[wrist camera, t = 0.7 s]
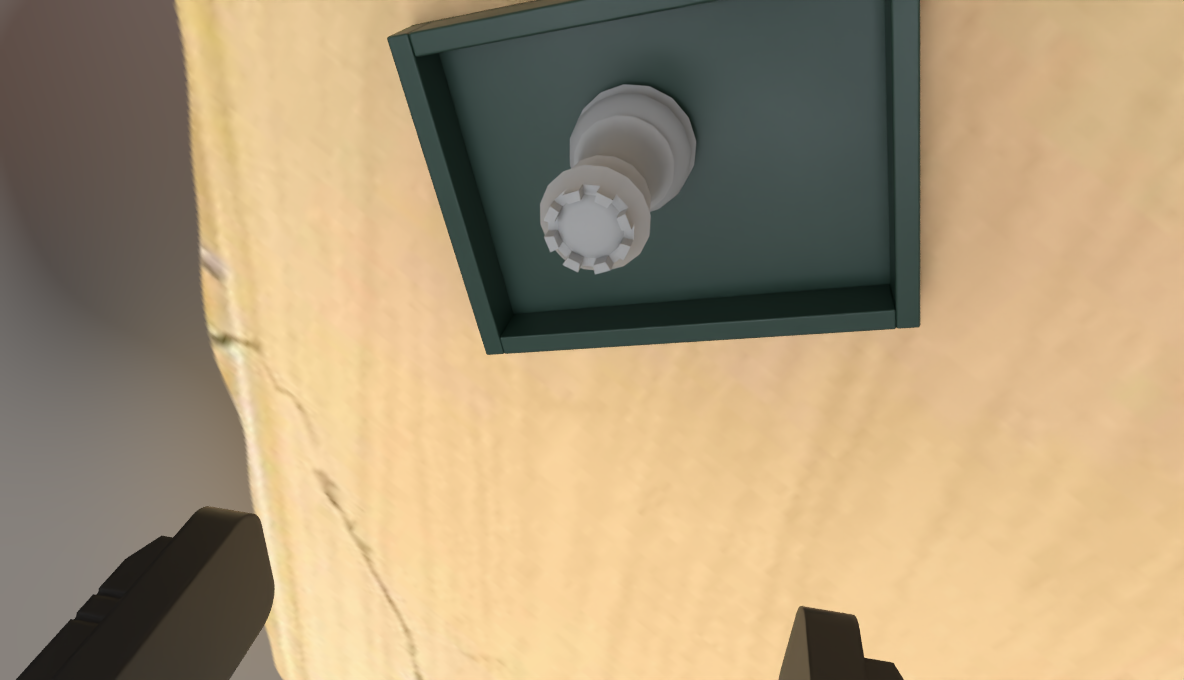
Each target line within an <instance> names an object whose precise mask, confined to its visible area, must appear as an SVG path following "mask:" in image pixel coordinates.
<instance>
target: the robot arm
mask: <svg viewBox="0 0 1184 680" xmlns="http://www.w3.org/2000/svg"><path fill="white" fill-rule="evenodd" d="M273 599H274V579H273V575H272V570H271V566H270V561H269V556H268V552H267V547H266V543H265V538H264V533H263V529H262V524H261V521H260V519H259V517H258V516H257V515H255V514H252V513H246V512H239V511H234V510H228V509H222V508H215V507H209V506H206V507H203V508H201V509H199V510H198V511H197V512H195V513H194V514H193V515H192V517H191V518H190V519H189V520H188V521H187V522H186V523H185V525H184V526H183V527H182V528H181V529H180V530H179V532H178V533H177V534H176V535H175V536H174V537H173V538H172V537H166V536H161V537H159V538H157V539H156V540H154V541H153V542H151V543H149V544H148V545H146V546H145V547H143V548H142V549H140V550H139V551H137V552H136V553H134V554H132V555H131V556H129V557H128V558H127V559H125V560H124V561H123V562H122V563H121V564H120V566H119V567H118V568H117V569H116V570H115V571H114V572H113V573H112V574H111V576H110V577H109V578H108V579H107V580H106V581H105V582H104V583H103V584H102V585H101V586H100V588H99V592H98V593H97V595H92V596H91V597H90V599H89V600H88V601H87V602H86V603H85V604H84V605H83V606H82V607H81V608H80V610H79V611H78V612H77V615H76V618H75V619H74V620H72V619H70V621H69V622H68V623H67V624H66V625H65V626H64V627H63V628H62V629H61V630H60V632H59V633H58V634H57V635H56V636H55V637H54V638H53V639H52V640H51V642H50V643H49V644H48V645H47V646H46V647H45V648H44V649H43V650H42V652H41V653H40V654H39V655H38V656H37V657H36V658H35V659H34V660H33V661H32V662H31V663H30V665H29V666H28V667H27V668H26V669H25V670H24V671H23V672H22V674H20V676H19V677H18V678H17V679H16V680H229V679H230V678H231V676H232V674H233V673H234V671H235V670H236V668H237V667H238V665H239V664H240V662H241V661H242V659H243V657H244V656H245V654H246V653H247V651H248V650H249V648H250V646H251V645H252V643H253V642H254V640H255V639H256V637H257V635H258V634H259V632H260V631H261V629H262V628H263V626H264V624H265V623H266V620H267V618H268V616H269V613H270V611H271V607H272V604H273ZM779 680H904V679H903V678H902V676H901V674H900V673H899V671H898V670H897V668H896V667H895V665H894V663H891V662H886V661H880V660H874V659H868V658H864V654H863V648H862V642H861V635H860V629H859V624H858V621H857V618H856V617H855V615H852V614H846V613H840V612H834V611H828V610H822V609H815V608H809V607H803V606H800V607H799V608H798V611H797V613H796V617H795V620H794V624H793V628H792V631H791V635H790V638H789V642H788V646H787V649H786V653H785V656H784V660H783V664H782V667H781V671H780V675H779Z"/></svg>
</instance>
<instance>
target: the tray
mask: <svg viewBox="0 0 1184 680" xmlns="http://www.w3.org/2000/svg"><path fill="white" fill-rule="evenodd" d="M387 40H388V43H389V46H390V49H391V52H392V55H393V59H394V62H395V65H396V68H397V71H398V74H399V78H400V81H401V84H402V87H403V90H404V93H405V97H406V100H407V103H408V106H409V109H410V112H411V116H412V119H413V122H414V125H415V128H416V132H417V135H418V138H419V141H420V144H421V147H422V151H423V154H424V157H425V160H426V163H427V166H428V170H429V173H430V176H431V179H432V182H433V185H434V189H435V192H436V195H437V198H438V201H439V205H440V208H441V211H442V214H443V217H444V220H445V224H446V227H447V230H448V233H449V236H450V239H451V243H452V246H453V249H454V252H455V255H456V258H457V262H458V265H459V268H460V271H461V274H462V278H463V281H464V284H465V287H466V290H467V293H468V297H469V300H470V303H471V306H472V309H473V312H474V316H475V319H476V322H477V325H478V328H479V331H480V335H481V338H482V341H483V344H484V347H485V350H486V354H487V355H492V354H503V353H505V354H508V353H524V352H540V351H555V350H571V349H587V348H602V347H618V346H634V345H650V344H665V343H681V342H697V341H712V340H728V339H744V338H760V337H775V336H791V335H807V334H823V333H838V332H854V331H870V330H885V329H895V328H896V327H897V328H914V327H919V326H920V0H536V1H531V2H526V3H521V4H516V5H511V6H506V7H501V8H496V9H491V10H486V11H481V12H476V13H471V14H466V15H461V16H456V17H451V18H446V19H441V20H436V21H431V22H426V23H421V24H416V25H412V26H411V27H408V28H406V29H404V30H402V31H400V32H398V33H395V34H393V35H391V36H389V37H388V38H387ZM623 84H627V85H640V86H650V87H652V88H654V89H656V90H658V91H660V92H662V93H664V94H666V95H667V96H669V97H671V98H673V100H674V101H675V102H676V103H677V104H678V105H679V107H680V108H681V109H682V110H683V111H684V112H685V114H686V115H687V116H688V117H689V120H690V123H691V126H692V129H693V132H694V136H695V139H696V150H695V161H694V167H693V168H692V170H691V172H690V174H689V176H688V178H687V180H686V181H685V183H684V185H683V186H682V188H681V190H680V192H679V194H677V195H676V196H675V197H674V198H672V199H671V200H670V201H669V202H667V203H666V204H665V205H664V206H662V207H661V208H659V209H658V210H654V211H651V212H650V215H651V219H650V235H649V238H648V240H647V242H646V243H645V245H644V247H643V249H642V251H641V253H640V254H639V255H638V256H637V257H635V258H634V259H633V260H631V261H630V262H629V263H627V264H626V265H625V266H623V267H619V268H615V269H611V270H610V271H607V272H603V273H599V274H595V273H594V270H588V269H582V268H580V270H579V272H576V271H574V270H572V269H570V268H568V267H566V266H564V265H563V263H564V261H565V260H564V259H563V258H562V257H561V256H560V255H559V254H558V253H557V252H556V251H555V250H554V251H552V252H550V250H549V248H548V245H547V243H546V241H545V238H544V236H545V234H544V232H543V229H542V227H541V225H540V203H541V200H542V198H543V196H544V193H545V191H546V189H547V186H548V185H549V184H550V183H551V182H552V181H553V180H554V179H555V178H557V177H558V176H559V175H560V174H561V173H562V172H563V171H566V170H569V169H571V167H570V137H571V135H572V132H573V130H574V128H575V125H576V123H577V121H578V118H579V117H580V115H581V113H582V110H583V109H584V108H585V107H586V106H587V105H588V104H589V103H590V102H591V101H592V100H593V99H594V98H595V97H596V96H597V95H598V94H600V93H601V92H603V91H606V90H609V89H612V88H615V87H618V86H621V85H623Z"/></svg>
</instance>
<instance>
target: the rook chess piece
mask: <svg viewBox="0 0 1184 680" xmlns="http://www.w3.org/2000/svg"><path fill="white" fill-rule="evenodd" d="M695 150H696V139H695V136H694V132H693V129H692V126H691V123H690V120H689V117H688V116H687V115H686V114H685V112H684V111H683V110H682V109H681V108H680V107H679V105H678V104H677V103H676V102H675V101H674V100H673V98H671V97H669V96H667V95H666V94H664V93H662V92H660V91H658V90H656V89H654V88H652V87H650V86H640V85H627V84H623V85H621V86H618V87H615V88H612V89H609V90H606V91H603V92H601V93H600V94H598V95H597V96H596V97H595V98H594V99H593V100H592V101H591V102H590V103H589V104H588V105H587V106H586V107H585V108H584V109H583V110H582V113H581V115H580V117H579V118H578V121H577V123H576V125H575V128H574V130H573V132H572V135H571V137H570V167H571V169H569V170H566V171H563V172H562V173H561V174H560V175H559V176H558V177H557V178H555V179H554V180H553V181H552V182H551V183H550V184H549V185H548V186H547V189H546V191H545V193H544V196H543V198H542V200H541V203H540V225H541V227H542V229H543V232H544V234H545V236H544V238H545V241H546V243H547V245H548V248H549V250H550V252H552V251H554V250H555V251H556V252H557V253H558V254H559V255H560V256H561V257H562V258H563V259H564V260H565V261H564V263H563V265H564V266H566V267H568V268H570V269H572V270H574V271H576V272H579V270H580V268H582V269H588V270H594V273H595V274H599V273H603V272H607V271H610V270H611V269H615V268H619V267H623V266H625V265H626V264H627V263H629V262H630V261H631V260H633V259H634V258H635V257H637V256H638V255H639V254H640V253H641V251H642V249H643V247H644V245H645V243H646V242H647V240H648V238H649V235H650V219H651V215H650V212H651V211H654V210H658V209H659V208H661V207H662V206H664V205H665V204H666V203H667V202H669V201H670V200H671V199H672V198H674V197H675V196H676V195H677V194H679V192H680V190H681V188H682V186H683V185H684V183H685V181H686V180H687V178H688V176H689V174H690V172H691V170H692V168H693V167H694V161H695Z"/></svg>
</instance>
